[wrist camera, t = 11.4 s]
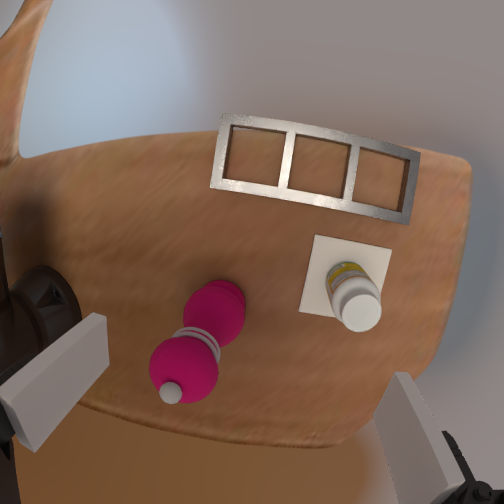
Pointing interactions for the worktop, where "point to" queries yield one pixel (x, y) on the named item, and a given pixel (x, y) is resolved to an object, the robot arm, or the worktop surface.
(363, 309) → the supplement bottle
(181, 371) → the pepper mill
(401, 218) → the rack frame
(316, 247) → the white mat
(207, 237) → the worktop surface
